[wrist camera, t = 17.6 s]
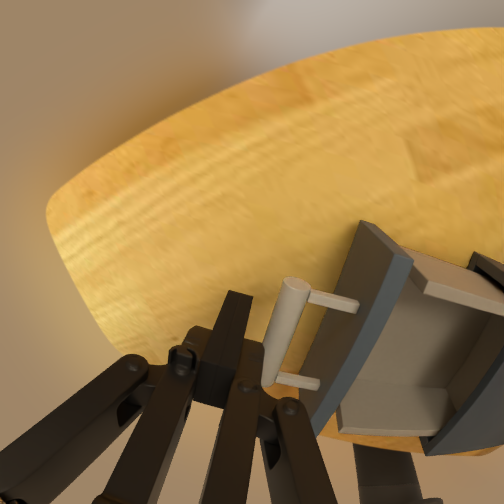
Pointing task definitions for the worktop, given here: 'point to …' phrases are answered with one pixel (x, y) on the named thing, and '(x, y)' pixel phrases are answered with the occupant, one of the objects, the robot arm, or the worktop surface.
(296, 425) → the robot arm
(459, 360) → the drawer
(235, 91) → the worktop surface
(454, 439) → the cabinet
